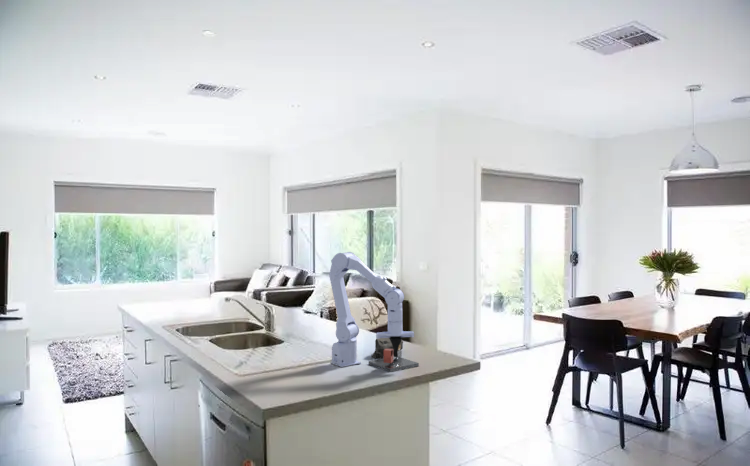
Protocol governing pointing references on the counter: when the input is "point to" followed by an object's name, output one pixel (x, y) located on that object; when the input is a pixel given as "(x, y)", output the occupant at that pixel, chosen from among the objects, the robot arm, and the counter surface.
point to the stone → (383, 347)
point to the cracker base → (394, 363)
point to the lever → (389, 356)
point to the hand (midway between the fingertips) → (395, 356)
